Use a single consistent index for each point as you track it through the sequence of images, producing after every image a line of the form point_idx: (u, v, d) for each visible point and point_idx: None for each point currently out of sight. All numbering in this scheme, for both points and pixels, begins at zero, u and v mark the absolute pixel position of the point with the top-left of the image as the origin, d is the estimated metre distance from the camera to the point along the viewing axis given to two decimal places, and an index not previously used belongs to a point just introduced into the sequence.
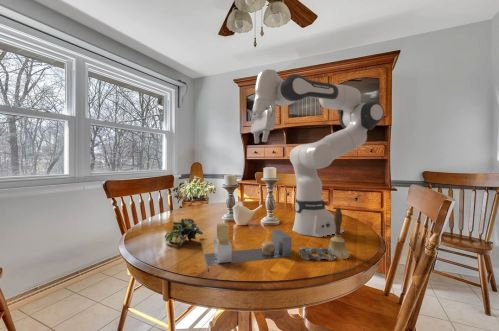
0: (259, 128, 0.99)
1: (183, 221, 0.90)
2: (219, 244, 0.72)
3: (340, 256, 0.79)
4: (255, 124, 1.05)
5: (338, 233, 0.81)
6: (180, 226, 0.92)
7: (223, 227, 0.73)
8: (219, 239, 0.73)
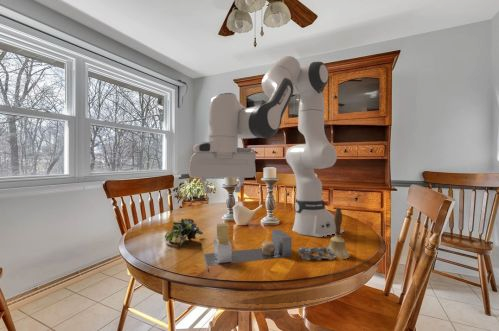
0: (231, 175, 0.73)
1: (183, 221, 0.90)
2: (219, 244, 0.72)
3: (340, 256, 0.79)
4: (209, 166, 0.71)
5: (338, 233, 0.81)
6: (180, 226, 0.92)
7: (223, 227, 0.73)
8: (219, 239, 0.73)
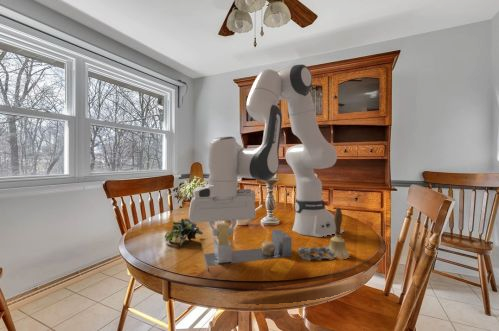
0: (231, 218, 0.74)
1: (183, 221, 0.90)
2: (219, 244, 0.72)
3: (340, 256, 0.79)
4: (209, 210, 0.72)
5: (338, 233, 0.81)
6: (180, 226, 0.92)
7: (223, 227, 0.73)
8: (219, 239, 0.73)
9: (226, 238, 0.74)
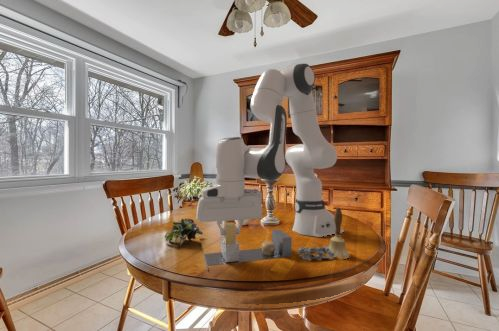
0: (238, 218, 0.74)
1: (183, 221, 0.90)
2: (227, 243, 0.72)
3: (340, 256, 0.79)
4: (217, 210, 0.72)
5: (338, 233, 0.81)
6: (180, 226, 0.92)
7: (230, 226, 0.74)
8: (226, 238, 0.74)
9: (233, 237, 0.74)
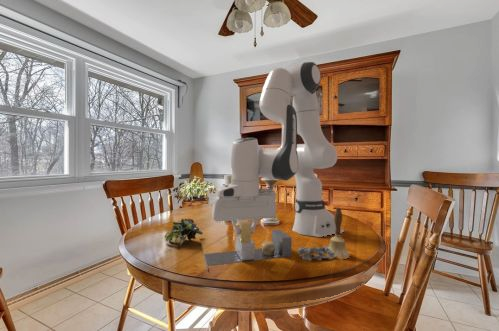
0: (253, 217, 0.76)
1: (183, 221, 0.90)
2: (242, 242, 0.74)
3: (340, 256, 0.79)
4: (233, 209, 0.74)
5: (338, 233, 0.81)
6: (180, 226, 0.92)
7: (245, 225, 0.75)
8: (242, 237, 0.75)
9: (248, 236, 0.76)
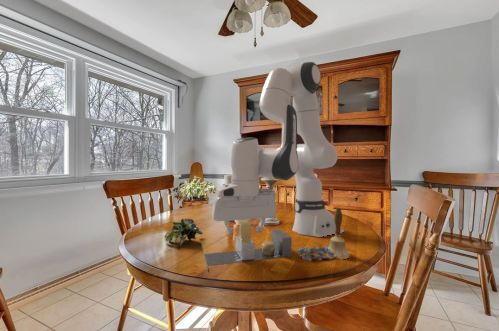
0: (253, 216, 0.76)
1: (183, 221, 0.90)
2: (242, 242, 0.74)
3: (340, 256, 0.79)
4: (233, 209, 0.74)
5: (338, 233, 0.81)
6: (180, 226, 0.92)
7: (245, 225, 0.75)
8: (242, 237, 0.75)
9: (248, 236, 0.76)
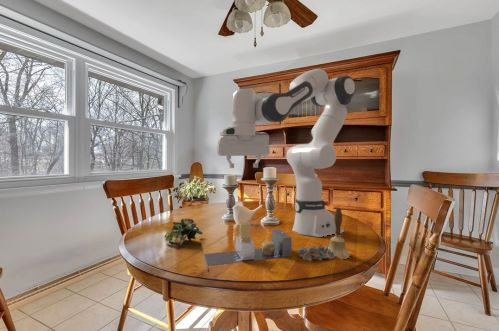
0: (251, 153, 0.92)
1: (183, 221, 0.90)
2: (242, 242, 0.74)
3: (340, 256, 0.79)
4: (234, 146, 0.90)
5: (338, 233, 0.81)
6: (180, 226, 0.92)
7: (245, 225, 0.75)
8: (242, 237, 0.75)
9: (248, 236, 0.76)
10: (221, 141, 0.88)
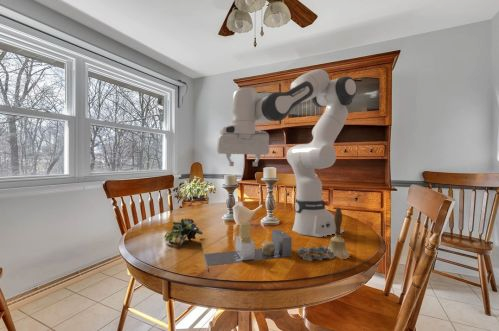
0: (250, 152, 0.93)
1: (183, 221, 0.90)
2: (242, 242, 0.74)
3: (340, 256, 0.79)
4: (233, 144, 0.91)
5: (338, 233, 0.81)
6: (180, 226, 0.92)
7: (245, 225, 0.75)
8: (242, 237, 0.75)
9: (248, 236, 0.76)
10: (221, 139, 0.89)
